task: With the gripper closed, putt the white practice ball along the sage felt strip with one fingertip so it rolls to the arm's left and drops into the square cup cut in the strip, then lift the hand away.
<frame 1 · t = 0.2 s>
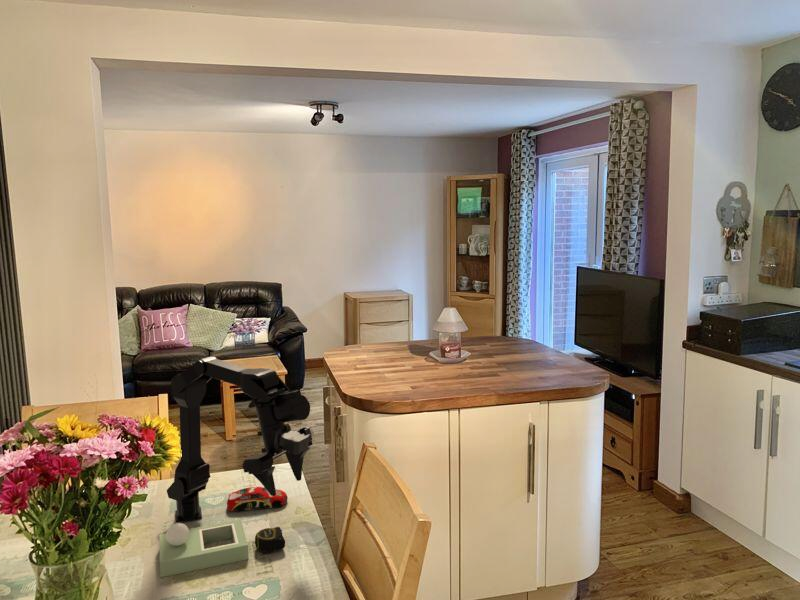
hand: (286, 487, 142), 15 cm above the table, tool pointing down, fingers open, 9 cm apart
green: (203, 553, 142), on the table
race car: (257, 506, 167), on the table
tape measure: (272, 547, 145), on the table
ball: (177, 534, 140), point 6 cm above the table, touching green
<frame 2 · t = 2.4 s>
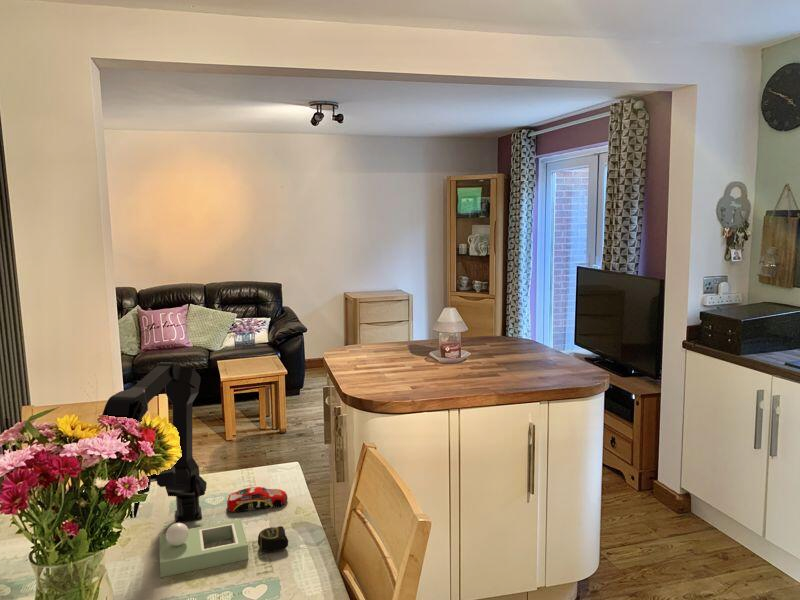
hand: (133, 517, 136), 12 cm above the table, tool pointing down, fingers closed
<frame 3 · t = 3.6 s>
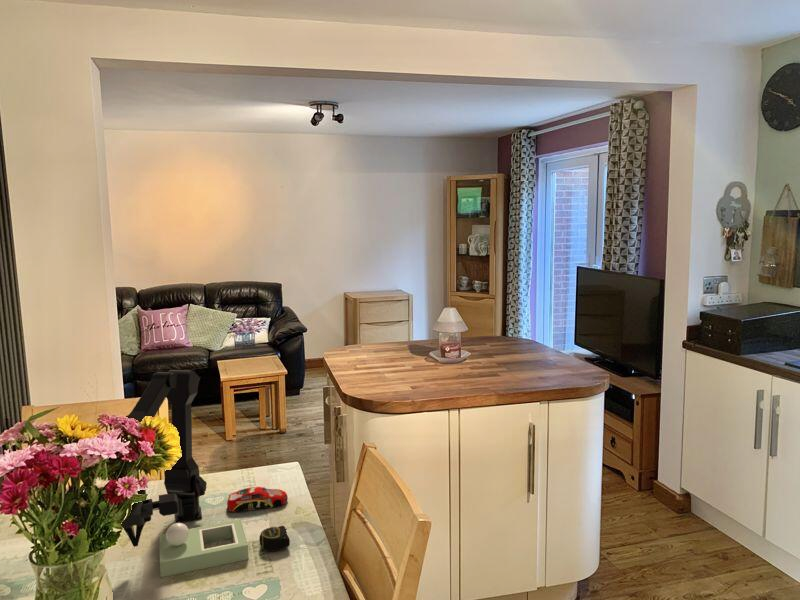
hand: (135, 545, 137), 5 cm above the table, tool pointing down, fingers closed
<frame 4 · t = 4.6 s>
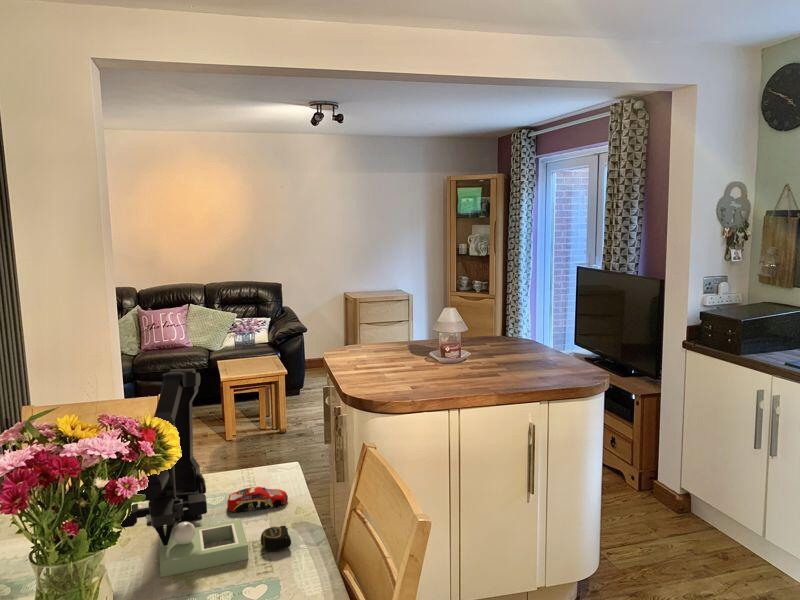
hand: (165, 544, 139), 4 cm above the table, tool pointing down, fingers closed
ball: (184, 533, 140), point 6 cm above the table, touching gripper
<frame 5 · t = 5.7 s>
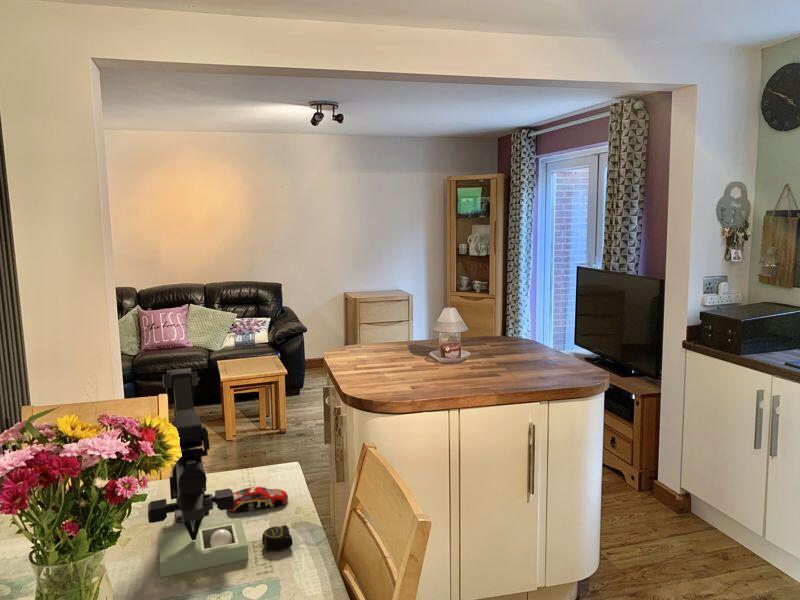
hand: (193, 539, 141), 4 cm above the table, tool pointing down, fingers closed
ball: (221, 540, 143), point 2 cm above the table, tilted 99°
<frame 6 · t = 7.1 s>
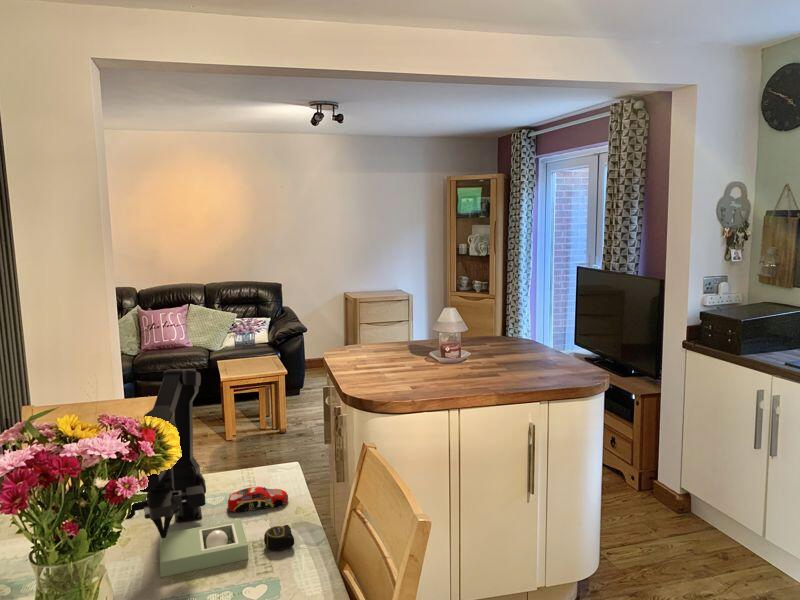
hand: (163, 537, 138), 6 cm above the table, tool pointing down, fingers closed
ball: (217, 541, 143), point 2 cm above the table, tilted 77°
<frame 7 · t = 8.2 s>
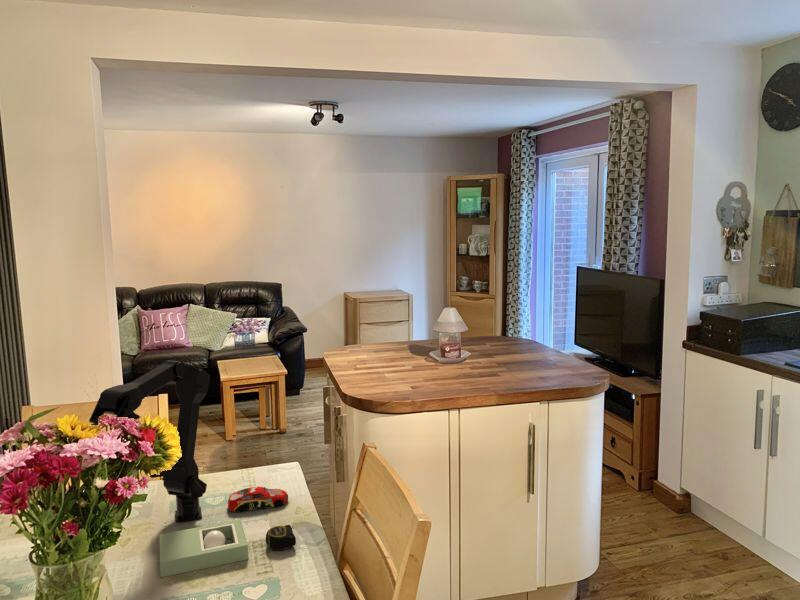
hand: (125, 507, 140), 12 cm above the table, tool pointing down, fingers closed
ball: (214, 541, 143), point 2 cm above the table, tilted 63°
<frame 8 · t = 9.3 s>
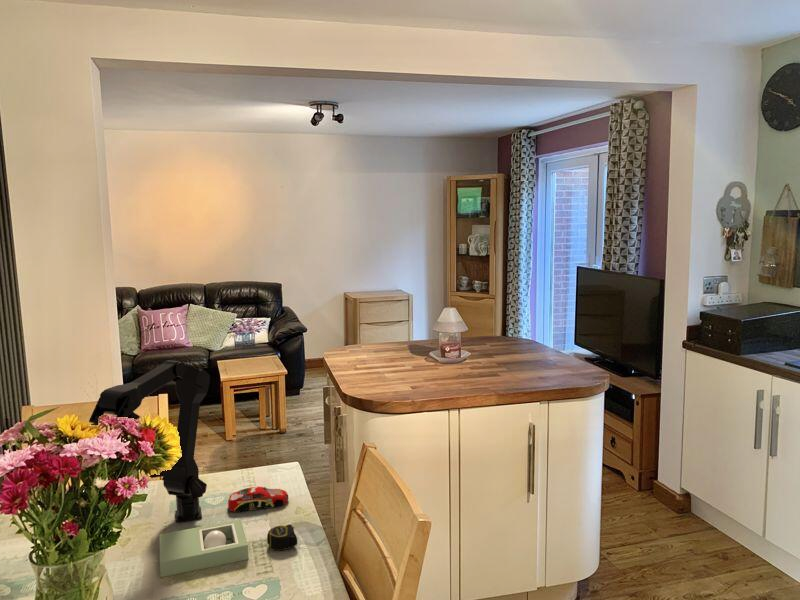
hand: (125, 507, 140), 12 cm above the table, tool pointing down, fingers closed
at the end: ball 0.8 cm from the target spot on the green, point 2.5 cm above the green's base; the gripper is holding nothing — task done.
